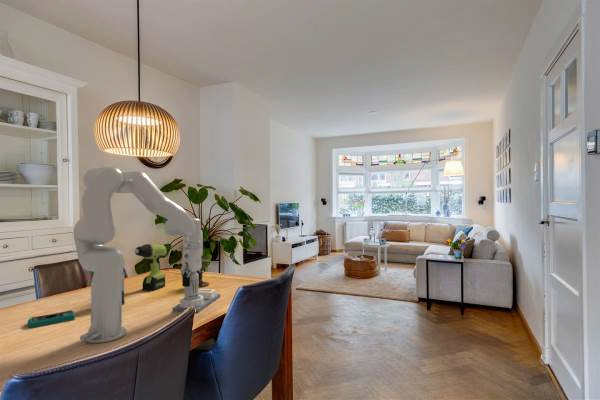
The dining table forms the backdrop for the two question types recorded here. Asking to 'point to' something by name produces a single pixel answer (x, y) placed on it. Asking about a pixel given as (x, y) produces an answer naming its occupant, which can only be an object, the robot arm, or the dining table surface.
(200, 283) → the candlestick
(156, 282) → the cordless drill
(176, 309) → the socket board
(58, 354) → the dining table surface
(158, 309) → the dining table surface
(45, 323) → the digital multimeter
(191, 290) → the energy drink can
